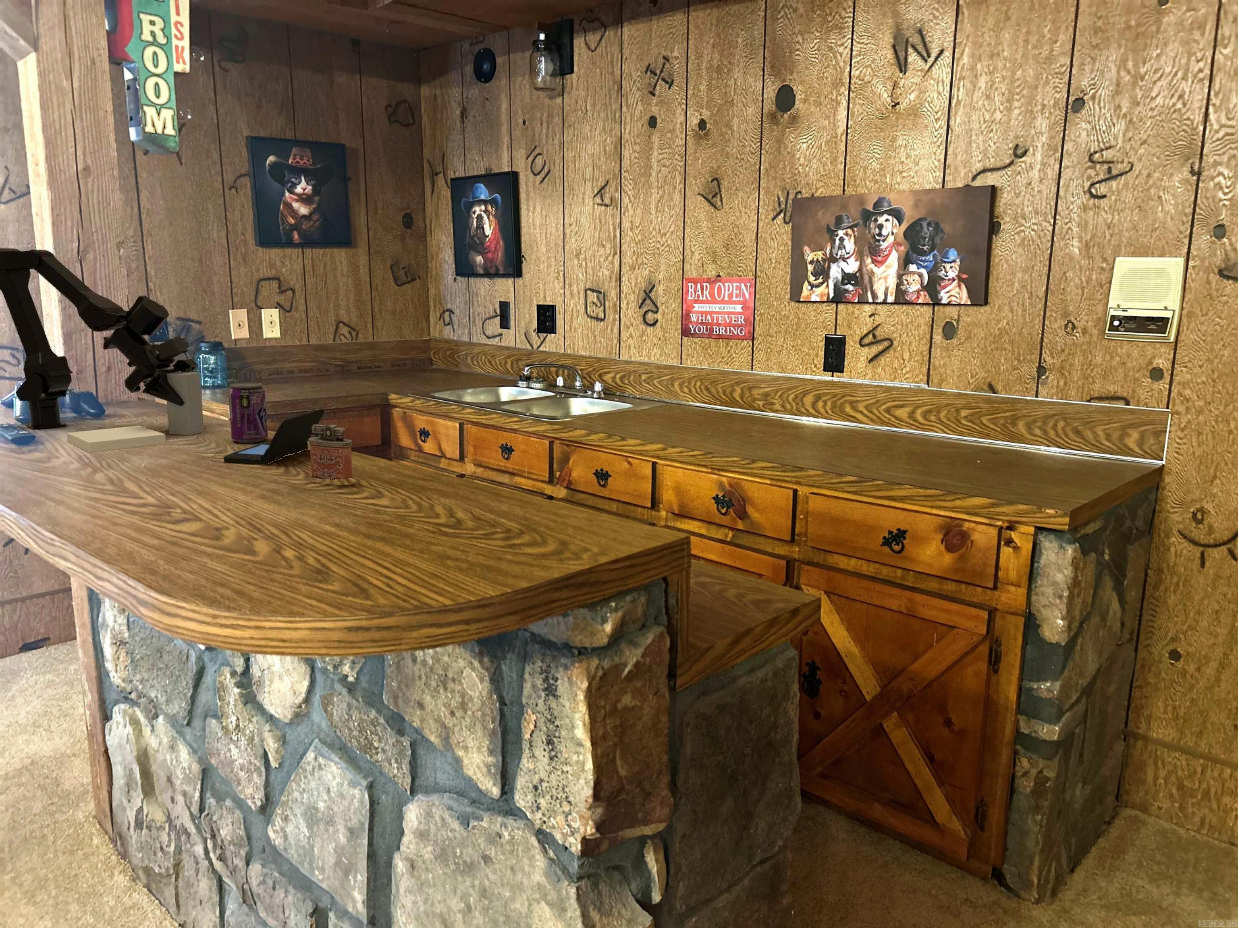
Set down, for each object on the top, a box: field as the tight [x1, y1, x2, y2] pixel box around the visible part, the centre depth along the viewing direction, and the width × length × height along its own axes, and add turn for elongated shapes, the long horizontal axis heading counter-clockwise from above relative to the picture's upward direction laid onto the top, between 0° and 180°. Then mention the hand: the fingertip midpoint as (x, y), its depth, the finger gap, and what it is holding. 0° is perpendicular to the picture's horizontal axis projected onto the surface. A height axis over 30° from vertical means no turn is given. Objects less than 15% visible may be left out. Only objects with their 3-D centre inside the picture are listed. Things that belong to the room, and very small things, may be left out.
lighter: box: [308, 424, 353, 480], centre depth 152 cm, size 8×3×10 cm, turn 71°
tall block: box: [166, 371, 205, 436], centre depth 194 cm, size 5×5×13 cm
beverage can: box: [228, 382, 269, 444], centre depth 186 cm, size 7×7×12 cm
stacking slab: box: [66, 425, 167, 454], centre depth 182 cm, size 14×14×2 cm
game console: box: [223, 408, 325, 465], centre depth 172 cm, size 16×14×9 cm
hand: (190, 402), depth 193 cm, fingers closed on tall block, 5 cm apart
